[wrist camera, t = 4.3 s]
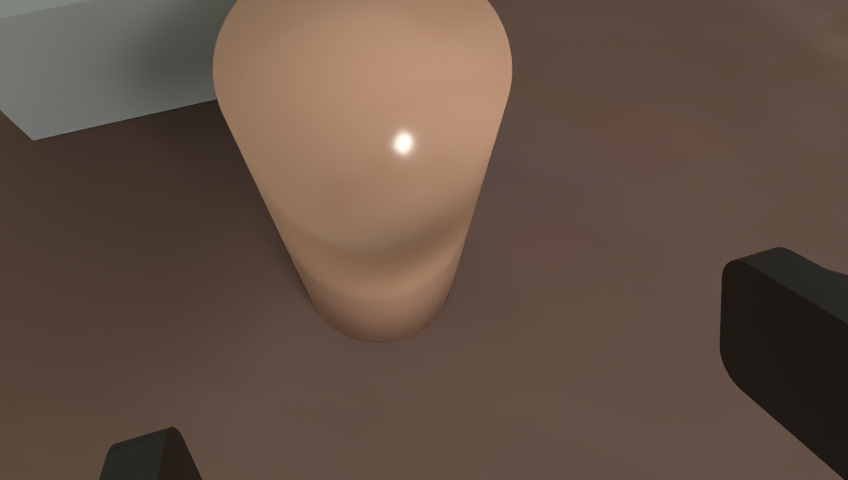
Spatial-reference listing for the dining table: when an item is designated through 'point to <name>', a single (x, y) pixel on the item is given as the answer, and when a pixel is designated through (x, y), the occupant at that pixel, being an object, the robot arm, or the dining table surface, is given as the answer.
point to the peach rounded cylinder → (367, 143)
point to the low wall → (104, 60)
